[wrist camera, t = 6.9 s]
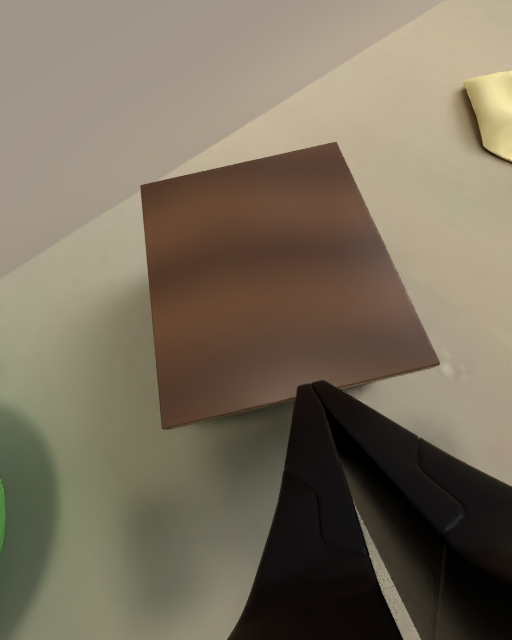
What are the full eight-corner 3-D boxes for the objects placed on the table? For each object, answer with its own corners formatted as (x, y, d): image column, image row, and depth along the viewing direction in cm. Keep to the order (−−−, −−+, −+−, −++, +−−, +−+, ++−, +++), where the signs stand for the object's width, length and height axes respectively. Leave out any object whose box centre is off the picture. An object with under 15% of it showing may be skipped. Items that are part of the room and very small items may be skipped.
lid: (431, 368, 12) (441, 364, 12) (168, 429, 12) (161, 430, 11) (334, 153, 17) (336, 140, 17) (145, 195, 17) (139, 184, 16)
